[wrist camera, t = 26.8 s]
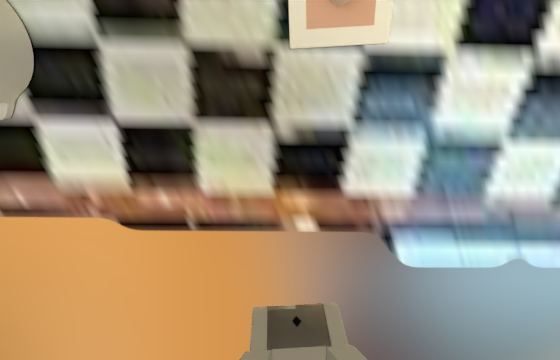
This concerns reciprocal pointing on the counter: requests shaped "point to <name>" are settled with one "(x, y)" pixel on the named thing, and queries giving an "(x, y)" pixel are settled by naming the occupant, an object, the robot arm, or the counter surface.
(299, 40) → the picture board
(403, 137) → the counter surface
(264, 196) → the counter surface
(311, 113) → the counter surface
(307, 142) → the counter surface
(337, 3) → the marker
